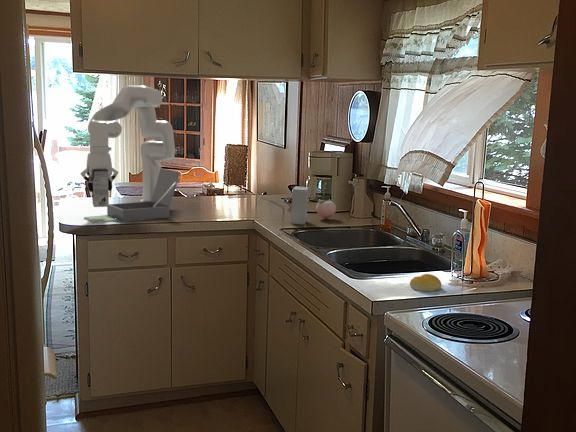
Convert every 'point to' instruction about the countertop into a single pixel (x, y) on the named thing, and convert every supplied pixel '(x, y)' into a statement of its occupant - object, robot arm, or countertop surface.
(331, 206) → the decorative fruit
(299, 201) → the skincare box
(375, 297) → the countertop surface
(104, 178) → the coffee box
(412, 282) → the bread roll
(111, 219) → the mat
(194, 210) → the countertop surface
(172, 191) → the case
